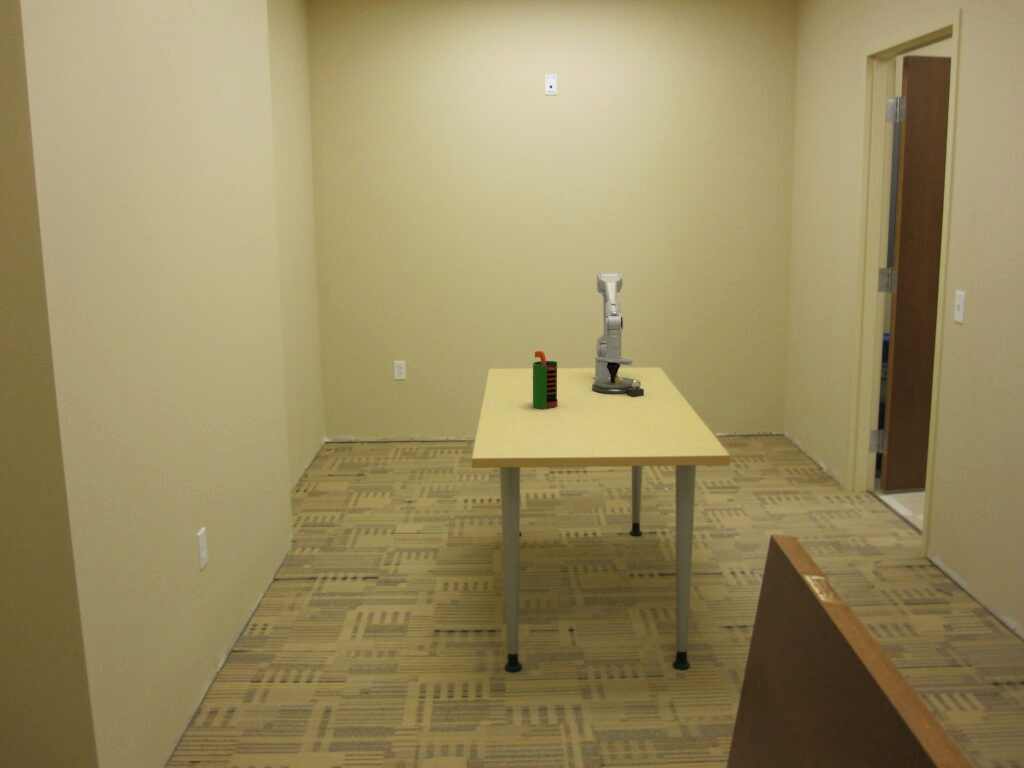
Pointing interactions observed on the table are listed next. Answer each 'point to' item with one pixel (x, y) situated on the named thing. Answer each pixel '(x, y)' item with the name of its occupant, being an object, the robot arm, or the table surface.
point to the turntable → (619, 383)
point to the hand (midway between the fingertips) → (613, 382)
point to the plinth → (608, 390)
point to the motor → (544, 382)
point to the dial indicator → (635, 389)
